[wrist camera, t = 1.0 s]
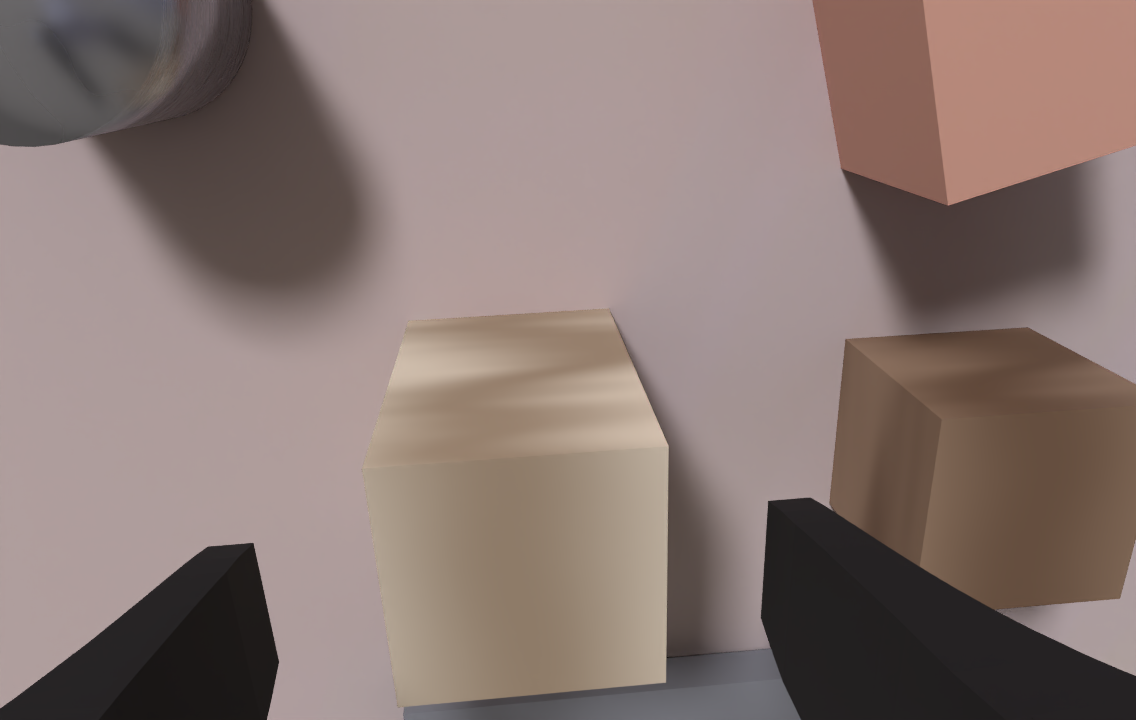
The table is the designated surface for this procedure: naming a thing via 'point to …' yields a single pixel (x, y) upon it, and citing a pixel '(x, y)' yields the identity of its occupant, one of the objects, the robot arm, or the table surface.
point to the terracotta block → (977, 89)
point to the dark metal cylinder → (112, 63)
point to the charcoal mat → (649, 696)
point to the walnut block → (990, 463)
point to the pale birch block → (519, 510)
